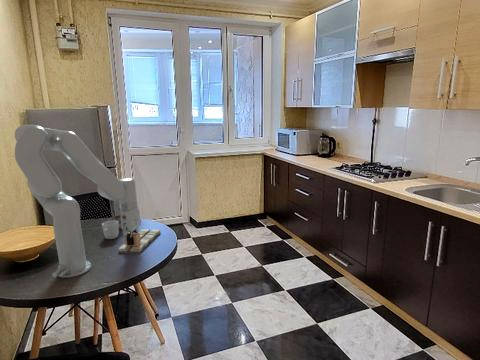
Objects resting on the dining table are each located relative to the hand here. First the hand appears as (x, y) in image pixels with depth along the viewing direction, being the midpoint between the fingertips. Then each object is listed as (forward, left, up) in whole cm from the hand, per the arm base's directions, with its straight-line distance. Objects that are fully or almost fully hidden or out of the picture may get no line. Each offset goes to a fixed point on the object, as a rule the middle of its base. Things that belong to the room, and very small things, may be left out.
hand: (132, 242), depth 146 cm
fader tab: (0, 0, -2) cm, 2 cm away
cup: (+10, +18, -3) cm, 21 cm away
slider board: (+7, 0, -3) cm, 8 cm away
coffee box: (+29, +23, -3) cm, 37 cm away
